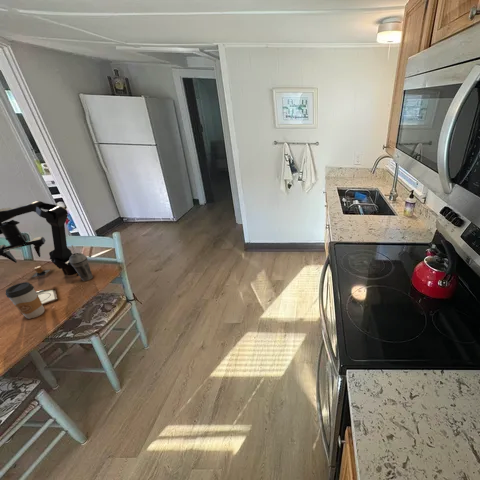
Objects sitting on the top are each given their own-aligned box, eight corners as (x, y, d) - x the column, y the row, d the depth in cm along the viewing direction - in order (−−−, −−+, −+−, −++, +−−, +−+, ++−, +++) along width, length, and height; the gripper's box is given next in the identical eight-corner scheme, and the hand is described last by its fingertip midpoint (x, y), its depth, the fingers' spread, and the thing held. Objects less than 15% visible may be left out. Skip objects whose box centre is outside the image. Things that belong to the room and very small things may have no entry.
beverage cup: (77, 283, 140) (59, 251, 131) (81, 276, 146) (64, 244, 136) (94, 280, 143) (78, 247, 134) (97, 273, 149) (82, 241, 139)
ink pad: (53, 270, 152) (52, 268, 151) (46, 276, 146) (45, 275, 146) (37, 272, 150) (37, 271, 150) (30, 279, 144) (29, 278, 144)
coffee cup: (18, 322, 115) (-1, 295, 108) (28, 310, 122) (10, 284, 115) (43, 317, 118) (25, 290, 111) (51, 305, 125) (35, 279, 118)
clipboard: (54, 287, 137) (53, 285, 137) (57, 299, 129) (56, 297, 128) (22, 298, 130) (20, 296, 129) (23, 312, 121) (21, 310, 120)
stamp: (46, 271, 149) (42, 265, 148) (43, 274, 147) (39, 268, 145) (39, 272, 148) (35, 266, 147) (35, 275, 146) (32, 269, 144)
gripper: (39, 223, 146) (53, 248, 153) (-11, 233, 136) (7, 259, 143) (36, 230, 138) (50, 256, 145) (-17, 240, 128) (2, 268, 135)
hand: (28, 259), depth 142 cm, fingers open, 9 cm apart
